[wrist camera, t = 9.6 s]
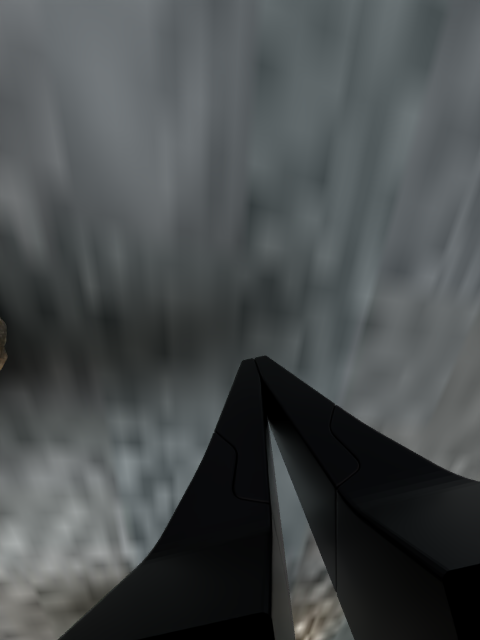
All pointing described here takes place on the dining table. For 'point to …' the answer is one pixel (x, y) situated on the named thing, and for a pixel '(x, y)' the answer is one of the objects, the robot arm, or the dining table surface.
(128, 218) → the dining table surface
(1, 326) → the rock
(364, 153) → the dining table surface
